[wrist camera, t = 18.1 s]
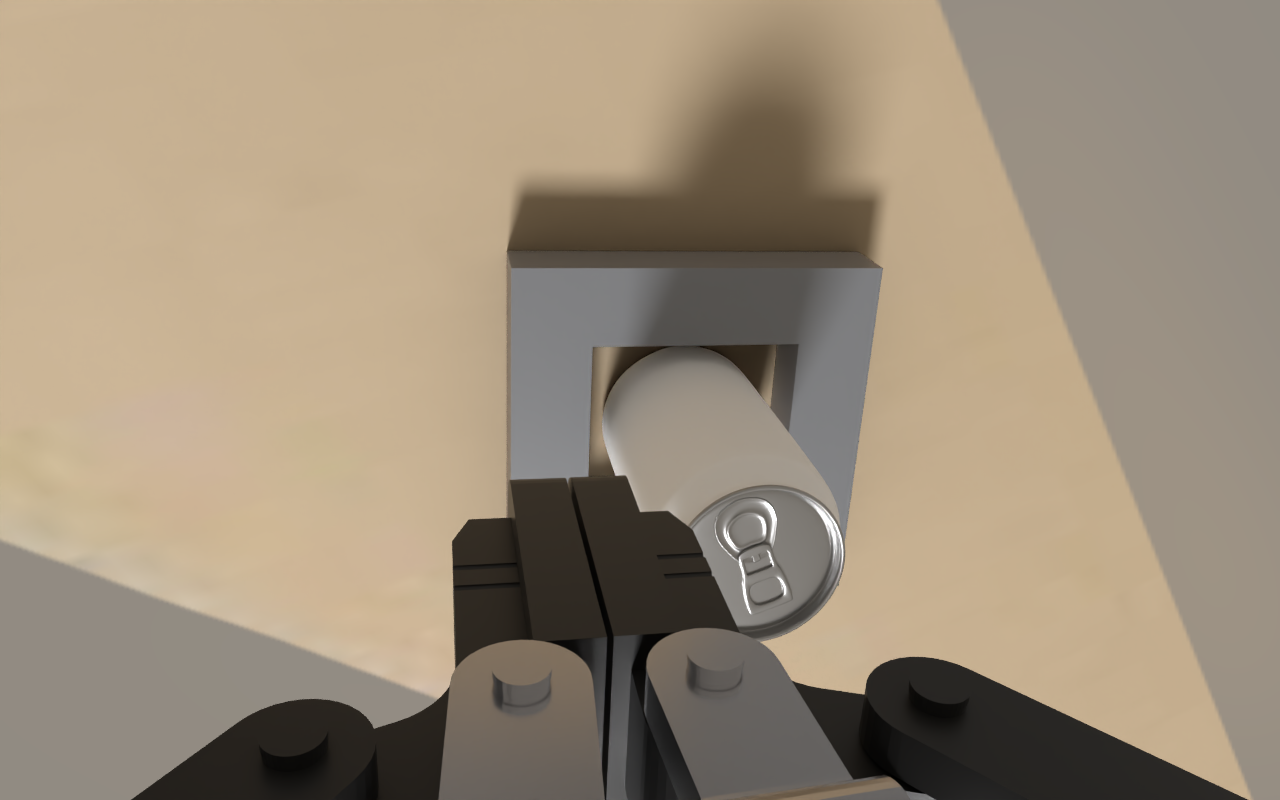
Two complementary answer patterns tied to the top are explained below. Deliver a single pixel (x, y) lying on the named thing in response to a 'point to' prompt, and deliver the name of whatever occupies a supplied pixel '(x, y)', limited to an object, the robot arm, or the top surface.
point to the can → (728, 484)
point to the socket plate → (688, 342)
